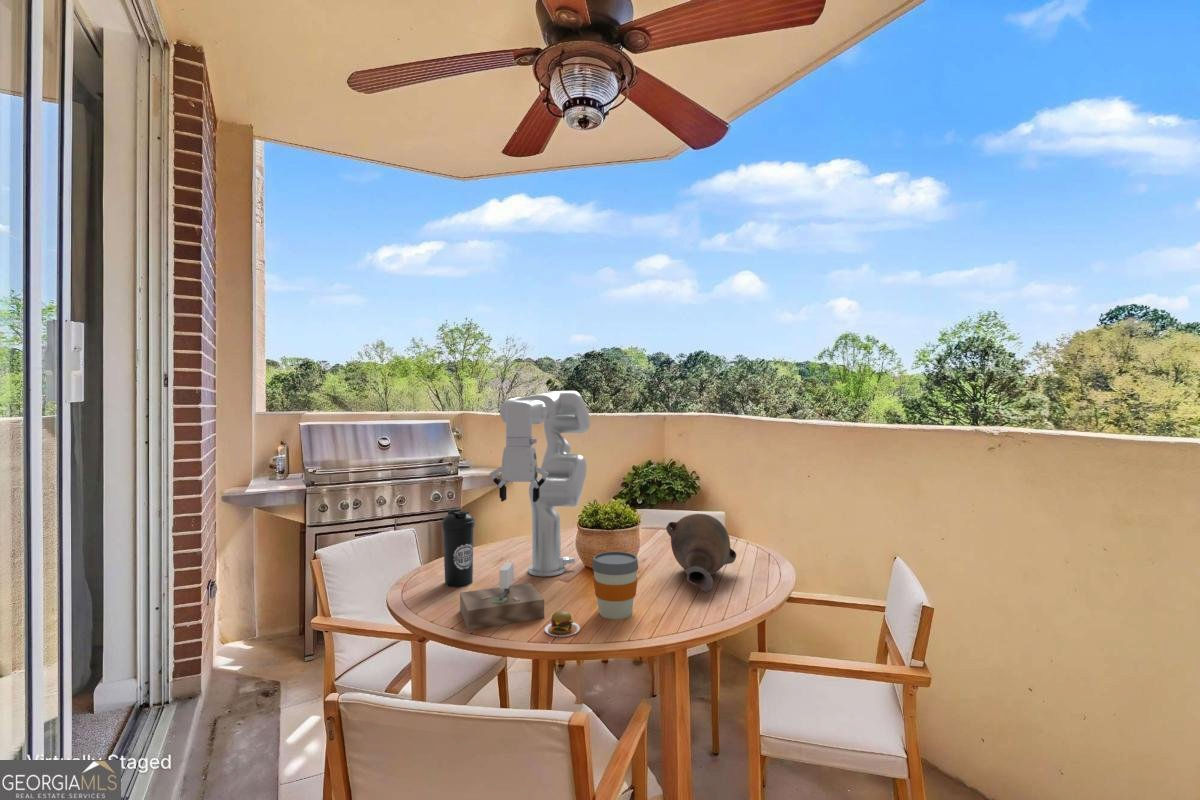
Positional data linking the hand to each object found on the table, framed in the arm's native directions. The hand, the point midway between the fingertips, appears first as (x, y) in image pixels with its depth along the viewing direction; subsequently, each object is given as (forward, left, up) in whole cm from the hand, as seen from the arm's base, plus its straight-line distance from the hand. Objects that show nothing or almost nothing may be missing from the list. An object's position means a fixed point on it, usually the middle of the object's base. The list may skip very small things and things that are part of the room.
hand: (519, 500), depth 166 cm
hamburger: (-4, +27, -29) cm, 40 cm away
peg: (+7, +10, -23) cm, 26 cm away
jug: (-57, +7, -29) cm, 64 cm away
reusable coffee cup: (-21, +22, -28) cm, 42 cm away
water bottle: (+15, -20, -28) cm, 38 cm away
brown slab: (+8, +11, -28) cm, 31 cm away
